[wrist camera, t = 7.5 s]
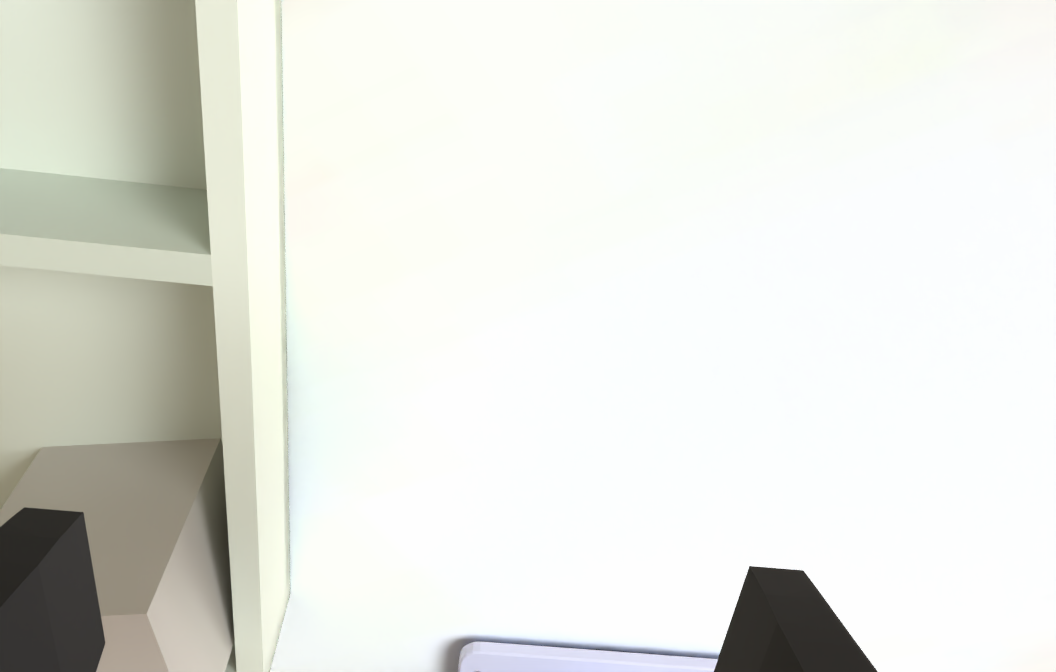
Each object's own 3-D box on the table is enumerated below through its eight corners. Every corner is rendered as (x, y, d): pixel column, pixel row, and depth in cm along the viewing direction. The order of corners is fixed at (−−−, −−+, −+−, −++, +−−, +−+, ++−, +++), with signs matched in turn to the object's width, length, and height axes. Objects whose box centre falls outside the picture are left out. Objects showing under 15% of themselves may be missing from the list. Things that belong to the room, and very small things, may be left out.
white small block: (257, 567, 23) (199, 752, 19) (95, 574, 23) (2, 760, 19) (220, 438, 21) (146, 613, 17) (42, 447, 21) (-76, 624, 17)
